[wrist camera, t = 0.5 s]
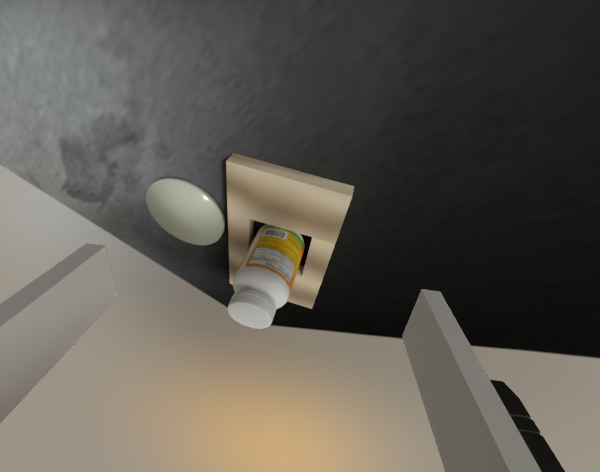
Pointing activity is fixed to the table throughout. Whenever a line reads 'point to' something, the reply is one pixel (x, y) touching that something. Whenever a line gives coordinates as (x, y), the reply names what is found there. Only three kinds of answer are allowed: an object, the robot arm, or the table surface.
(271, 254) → the supplement bottle
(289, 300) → the socket plate
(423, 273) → the table surface
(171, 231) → the pale green oval pebble
